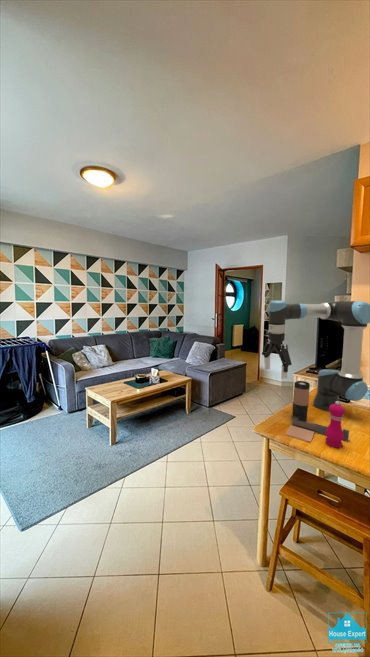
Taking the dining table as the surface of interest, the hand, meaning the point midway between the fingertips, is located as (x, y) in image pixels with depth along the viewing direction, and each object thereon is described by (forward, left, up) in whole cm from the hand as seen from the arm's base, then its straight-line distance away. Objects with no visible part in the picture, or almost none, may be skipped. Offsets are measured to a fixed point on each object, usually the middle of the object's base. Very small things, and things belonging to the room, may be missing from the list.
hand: (275, 373), depth 130 cm
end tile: (-8, +12, -27) cm, 30 cm away
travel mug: (-19, -3, -27) cm, 33 cm away
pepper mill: (-17, +22, -27) cm, 39 cm away
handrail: (-18, +12, -27) cm, 35 cm away
